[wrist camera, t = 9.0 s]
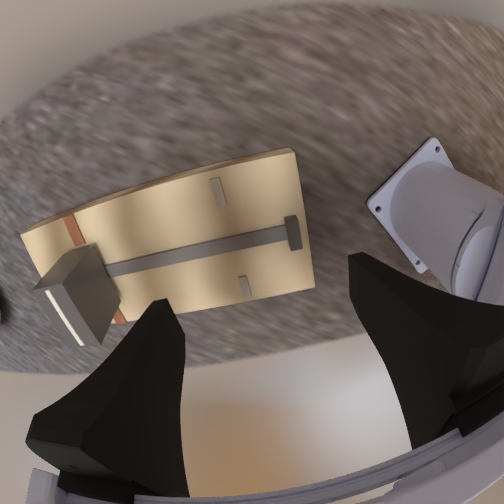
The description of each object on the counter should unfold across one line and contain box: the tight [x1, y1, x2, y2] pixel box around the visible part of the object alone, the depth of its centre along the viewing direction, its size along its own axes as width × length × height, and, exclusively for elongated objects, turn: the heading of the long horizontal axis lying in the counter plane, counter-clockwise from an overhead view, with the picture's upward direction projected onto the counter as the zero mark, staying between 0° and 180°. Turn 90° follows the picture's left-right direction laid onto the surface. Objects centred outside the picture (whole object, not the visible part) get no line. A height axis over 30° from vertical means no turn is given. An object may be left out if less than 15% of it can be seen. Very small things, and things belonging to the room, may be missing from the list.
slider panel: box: [21, 148, 315, 324], centre depth 20 cm, size 22×10×3 cm, turn 102°
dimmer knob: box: [32, 245, 121, 347], centre depth 18 cm, size 3×5×5 cm, turn 13°
